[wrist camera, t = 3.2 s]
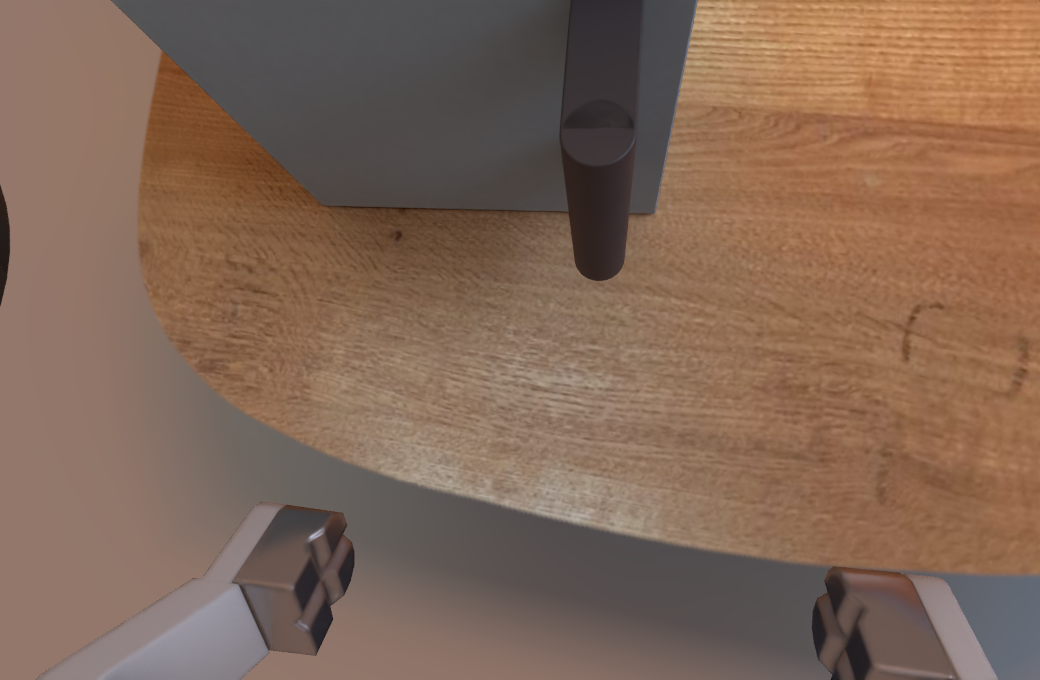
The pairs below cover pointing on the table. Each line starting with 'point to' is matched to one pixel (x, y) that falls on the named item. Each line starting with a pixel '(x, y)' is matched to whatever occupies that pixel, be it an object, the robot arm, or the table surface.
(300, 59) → the cabinet door
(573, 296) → the table surface
